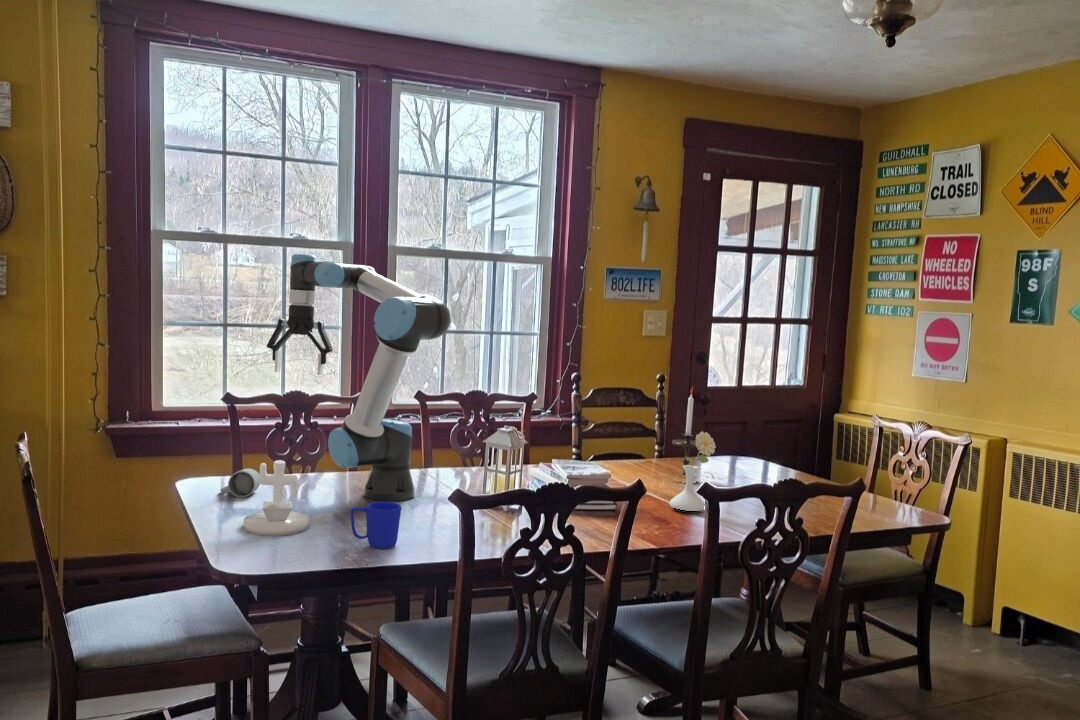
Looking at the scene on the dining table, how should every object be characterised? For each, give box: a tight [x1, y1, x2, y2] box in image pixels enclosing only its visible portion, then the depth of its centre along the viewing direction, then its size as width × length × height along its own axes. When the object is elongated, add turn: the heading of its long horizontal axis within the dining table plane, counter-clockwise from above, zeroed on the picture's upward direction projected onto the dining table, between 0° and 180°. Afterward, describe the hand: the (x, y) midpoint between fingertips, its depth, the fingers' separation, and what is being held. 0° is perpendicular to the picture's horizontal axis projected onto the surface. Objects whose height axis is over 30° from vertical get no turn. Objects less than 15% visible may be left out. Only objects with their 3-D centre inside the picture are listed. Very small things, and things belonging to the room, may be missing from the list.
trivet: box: [242, 511, 310, 537], centre depth 213 cm, size 16×16×2 cm
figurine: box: [259, 459, 299, 521], centre depth 213 cm, size 7×9×15 cm
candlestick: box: [672, 385, 697, 475], centre depth 302 cm, size 11×11×35 cm
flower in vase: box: [668, 430, 717, 512], centre depth 259 cm, size 13×11×25 cm
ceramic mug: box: [220, 468, 261, 499], centre depth 243 cm, size 11×8×8 cm
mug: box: [350, 501, 402, 550], centre depth 203 cm, size 8×12×10 cm
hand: (298, 373), depth 259 cm, fingers open, 13 cm apart
